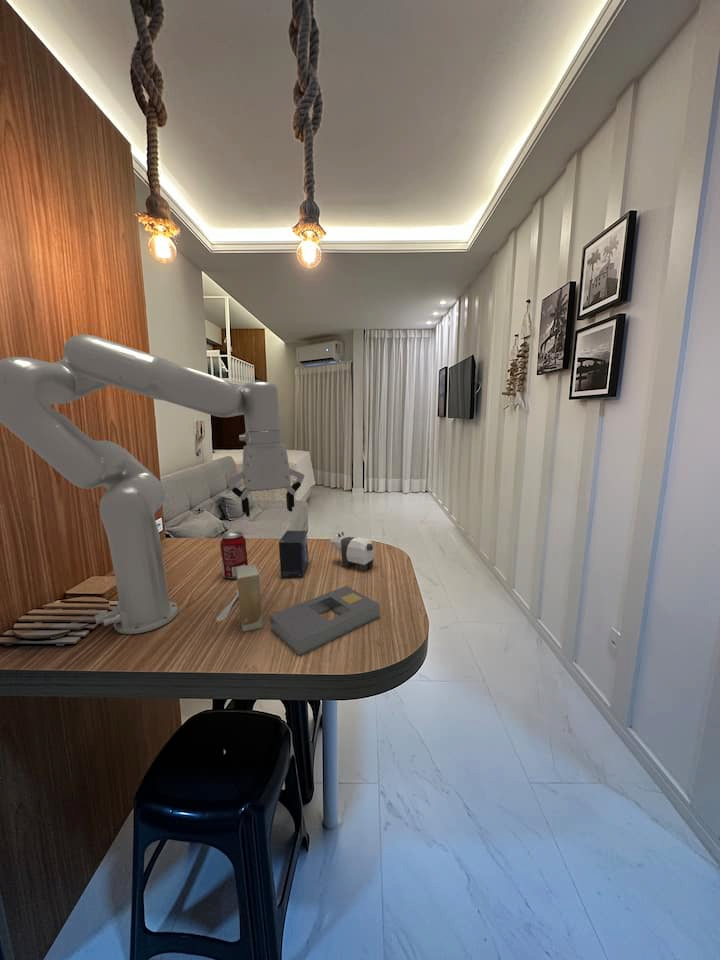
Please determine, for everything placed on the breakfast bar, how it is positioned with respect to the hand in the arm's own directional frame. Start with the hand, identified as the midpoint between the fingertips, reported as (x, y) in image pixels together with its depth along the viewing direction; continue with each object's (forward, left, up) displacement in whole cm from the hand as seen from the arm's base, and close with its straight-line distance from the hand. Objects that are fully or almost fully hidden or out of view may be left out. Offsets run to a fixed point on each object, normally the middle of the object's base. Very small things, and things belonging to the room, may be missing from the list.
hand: (269, 512), depth 88 cm
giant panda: (+26, +3, -22) cm, 35 cm away
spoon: (-9, +5, -23) cm, 25 cm away
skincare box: (-9, -6, -22) cm, 24 cm away
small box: (+12, +12, -22) cm, 28 cm away
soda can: (-2, +21, -22) cm, 31 cm away
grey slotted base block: (+3, -17, -22) cm, 28 cm away
